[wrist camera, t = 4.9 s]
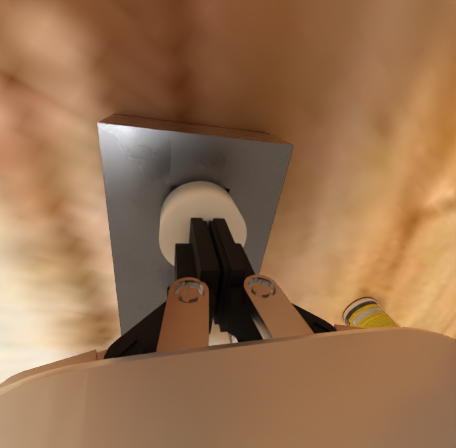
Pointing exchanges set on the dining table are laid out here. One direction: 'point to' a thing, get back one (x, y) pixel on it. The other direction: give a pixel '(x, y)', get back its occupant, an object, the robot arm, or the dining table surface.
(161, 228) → the knob
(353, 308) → the supplement bottle
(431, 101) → the dining table surface
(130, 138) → the knob plate
